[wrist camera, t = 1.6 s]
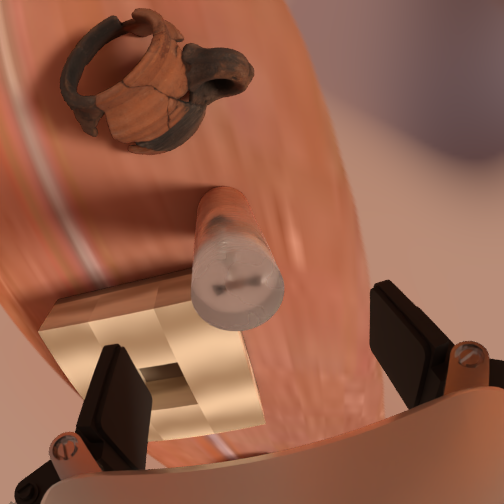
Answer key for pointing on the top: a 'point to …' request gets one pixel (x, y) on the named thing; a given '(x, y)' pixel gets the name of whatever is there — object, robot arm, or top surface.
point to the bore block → (160, 354)
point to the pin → (232, 264)
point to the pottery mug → (153, 84)
